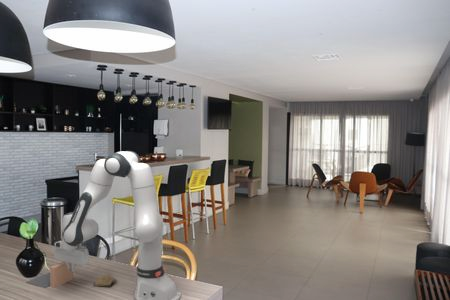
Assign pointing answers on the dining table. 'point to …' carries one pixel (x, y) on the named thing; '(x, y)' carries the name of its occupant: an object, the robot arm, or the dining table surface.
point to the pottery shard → (104, 280)
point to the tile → (60, 274)
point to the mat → (41, 280)
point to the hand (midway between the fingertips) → (71, 270)
